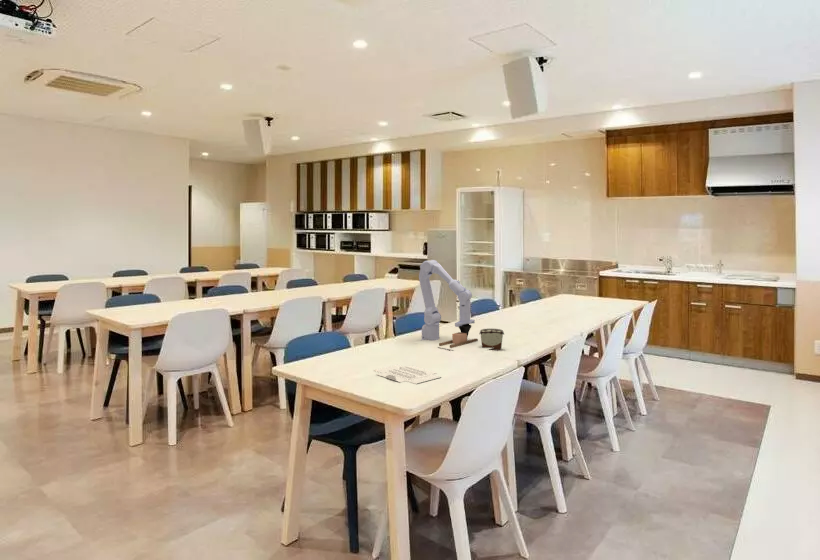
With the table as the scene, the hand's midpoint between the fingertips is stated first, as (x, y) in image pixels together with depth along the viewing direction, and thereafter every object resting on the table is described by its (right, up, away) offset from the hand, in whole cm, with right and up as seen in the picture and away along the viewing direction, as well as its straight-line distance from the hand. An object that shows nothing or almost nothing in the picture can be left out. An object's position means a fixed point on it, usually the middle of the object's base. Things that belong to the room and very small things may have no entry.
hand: (464, 338), depth 283 cm
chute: (-4, -3, -4) cm, 6 cm away
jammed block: (-3, -2, -3) cm, 5 cm away
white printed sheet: (-31, -10, -57) cm, 65 cm away
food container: (+12, -4, -12) cm, 17 cm away
